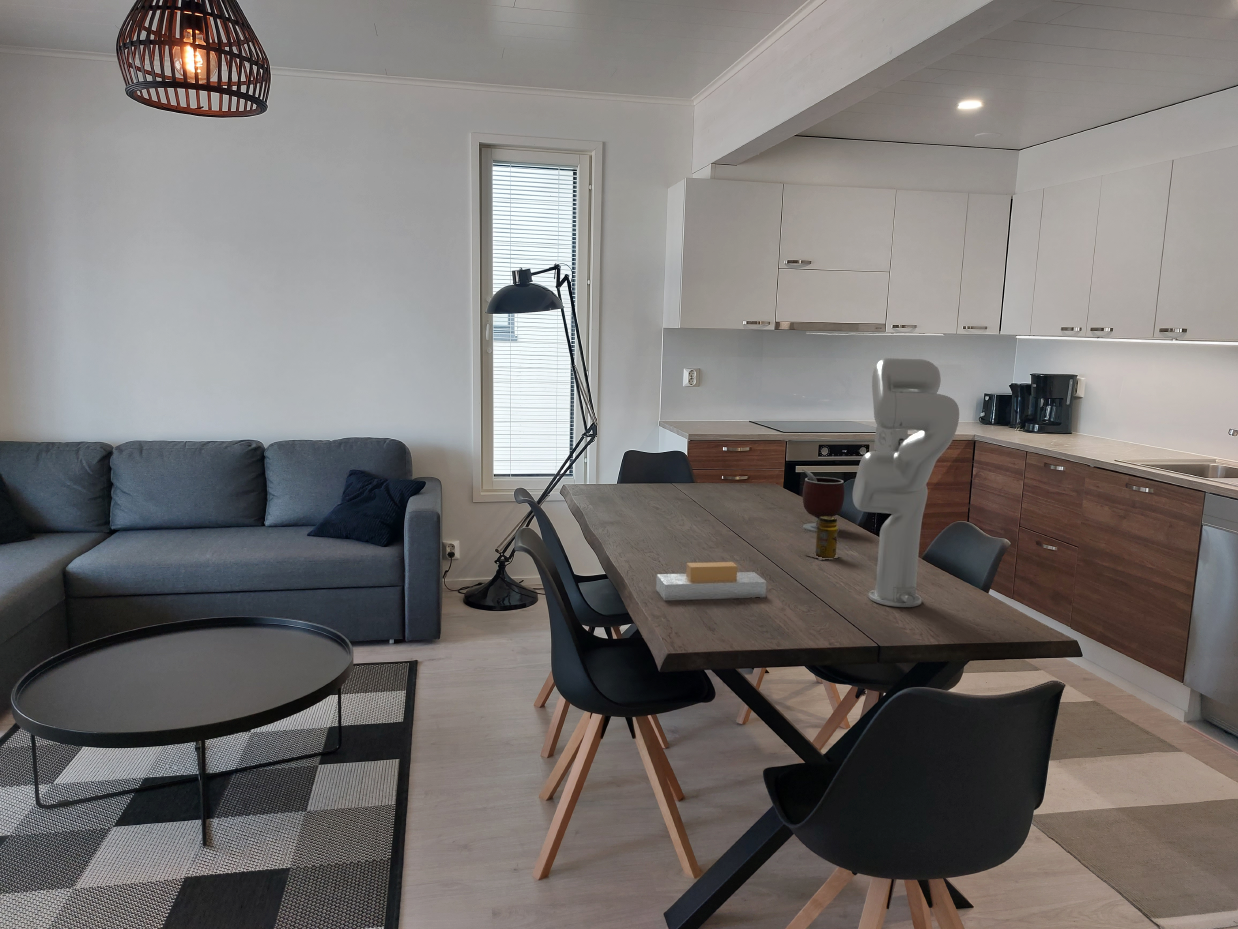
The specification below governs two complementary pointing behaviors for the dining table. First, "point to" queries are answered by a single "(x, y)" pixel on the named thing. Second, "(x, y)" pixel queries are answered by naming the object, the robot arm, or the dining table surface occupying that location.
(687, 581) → the white flat block
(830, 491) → the mate gourd
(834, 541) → the condiment
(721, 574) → the tan wooden block
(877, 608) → the dining table surface
